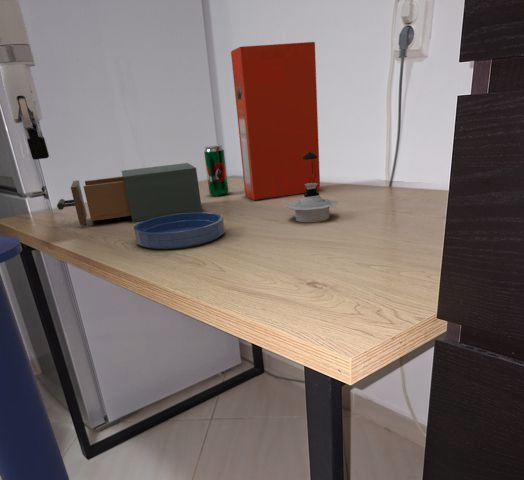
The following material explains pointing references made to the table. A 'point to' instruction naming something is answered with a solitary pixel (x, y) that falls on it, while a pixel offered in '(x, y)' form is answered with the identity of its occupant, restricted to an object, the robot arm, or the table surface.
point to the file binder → (277, 117)
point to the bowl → (179, 230)
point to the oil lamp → (311, 202)
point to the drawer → (99, 199)
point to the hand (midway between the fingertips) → (41, 158)
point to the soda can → (216, 170)
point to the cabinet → (162, 191)
